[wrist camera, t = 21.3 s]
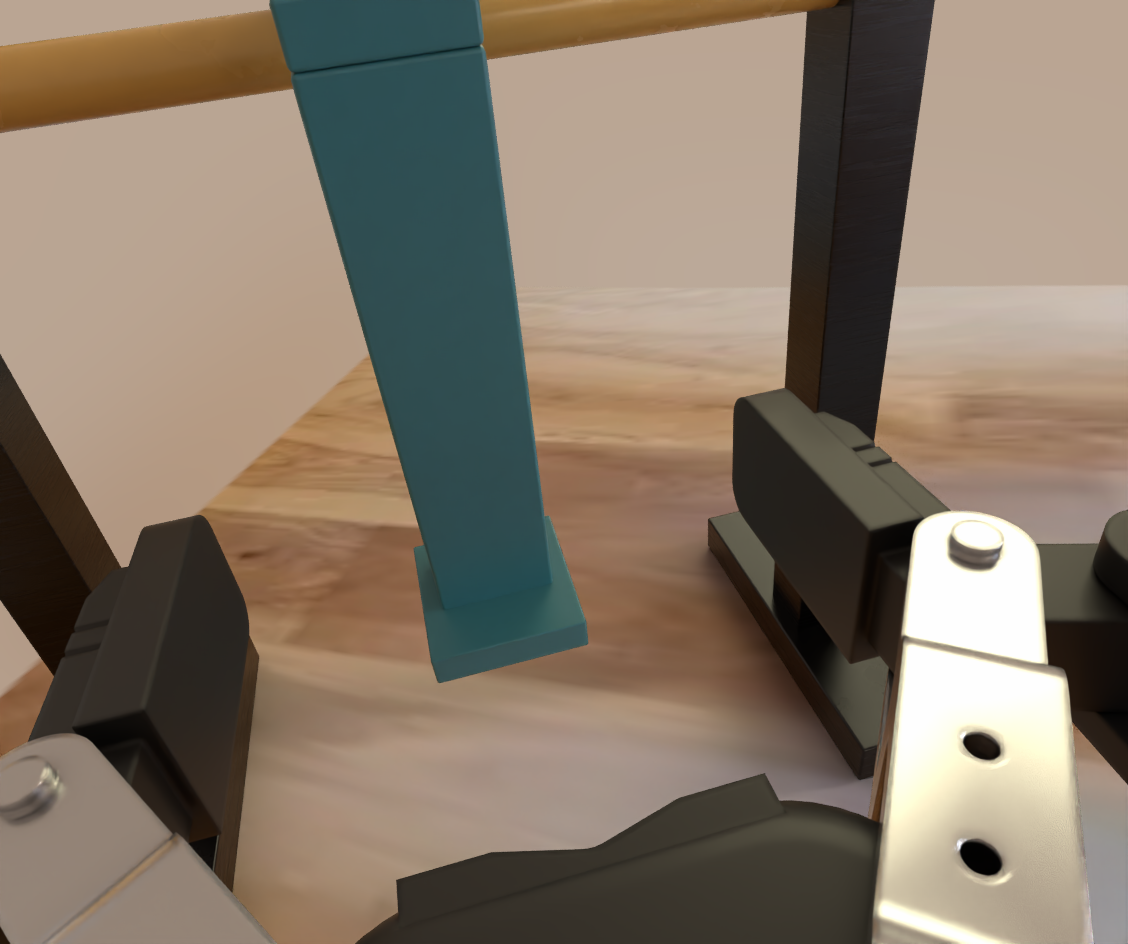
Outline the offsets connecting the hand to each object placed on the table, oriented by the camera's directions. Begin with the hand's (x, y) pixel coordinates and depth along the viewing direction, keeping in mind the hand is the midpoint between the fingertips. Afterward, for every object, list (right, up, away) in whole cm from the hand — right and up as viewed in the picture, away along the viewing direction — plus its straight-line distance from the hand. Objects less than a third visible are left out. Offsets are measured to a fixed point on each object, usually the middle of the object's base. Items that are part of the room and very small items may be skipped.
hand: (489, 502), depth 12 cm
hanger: (-1, -1, +12) cm, 12 cm away
